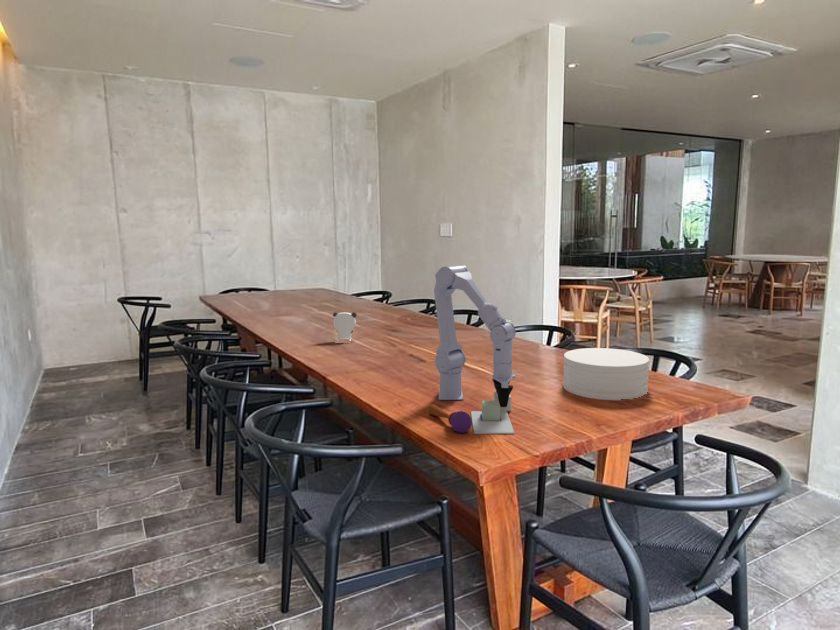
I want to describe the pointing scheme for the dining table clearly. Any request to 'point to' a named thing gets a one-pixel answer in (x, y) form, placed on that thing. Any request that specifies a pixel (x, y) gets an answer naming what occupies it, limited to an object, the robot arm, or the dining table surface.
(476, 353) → the dining table surface
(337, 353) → the dining table surface
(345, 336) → the panda figurine
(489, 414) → the block base
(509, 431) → the grey base plate
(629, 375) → the plate stack
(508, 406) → the block top
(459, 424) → the kendama
